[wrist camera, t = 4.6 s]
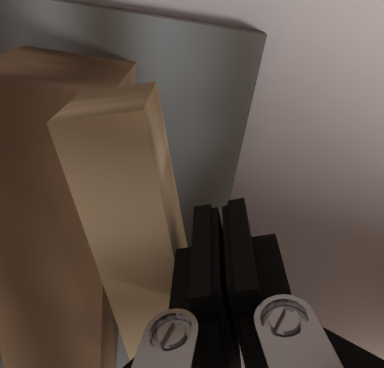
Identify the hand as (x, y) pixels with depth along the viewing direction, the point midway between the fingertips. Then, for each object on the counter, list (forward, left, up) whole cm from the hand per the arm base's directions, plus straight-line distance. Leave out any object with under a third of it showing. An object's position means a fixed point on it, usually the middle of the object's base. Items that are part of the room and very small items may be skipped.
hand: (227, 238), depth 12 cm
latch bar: (+2, +3, -2) cm, 4 cm away
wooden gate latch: (+7, +8, -8) cm, 14 cm away
